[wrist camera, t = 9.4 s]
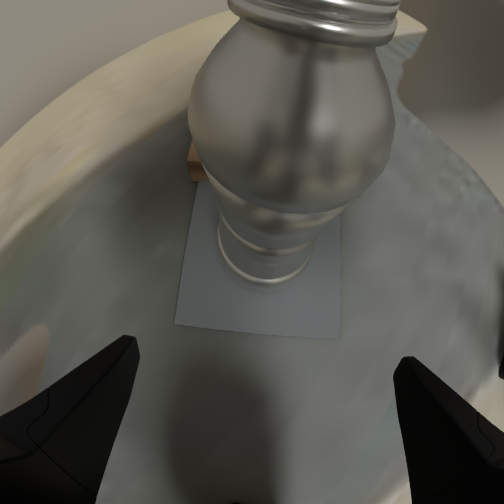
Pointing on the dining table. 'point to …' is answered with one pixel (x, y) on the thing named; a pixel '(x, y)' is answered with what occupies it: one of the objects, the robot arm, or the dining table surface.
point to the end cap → (502, 369)
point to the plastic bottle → (291, 128)
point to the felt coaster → (249, 303)
